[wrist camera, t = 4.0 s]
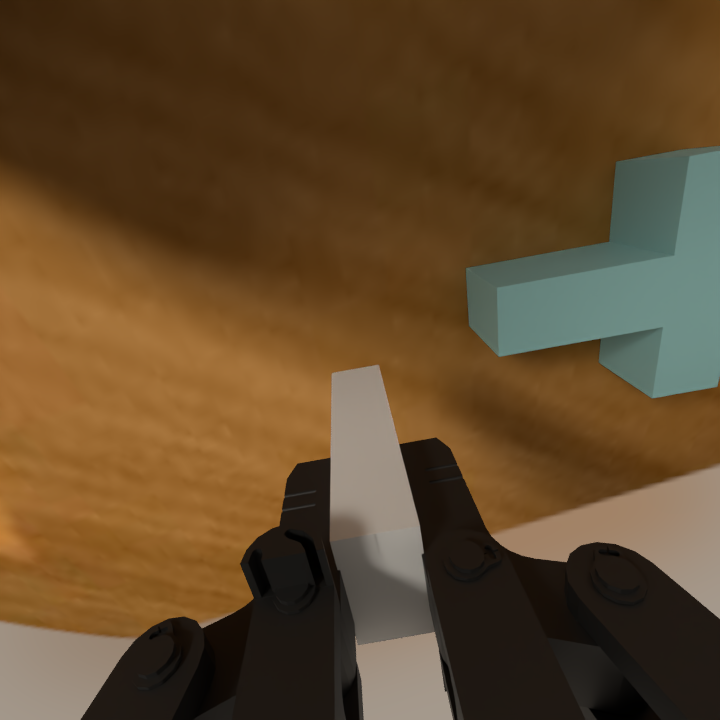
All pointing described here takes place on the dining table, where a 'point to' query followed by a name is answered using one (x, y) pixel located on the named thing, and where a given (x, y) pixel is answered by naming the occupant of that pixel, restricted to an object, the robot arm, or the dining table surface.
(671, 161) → the t block
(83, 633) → the dining table surface
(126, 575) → the dining table surface
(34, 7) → the dining table surface
